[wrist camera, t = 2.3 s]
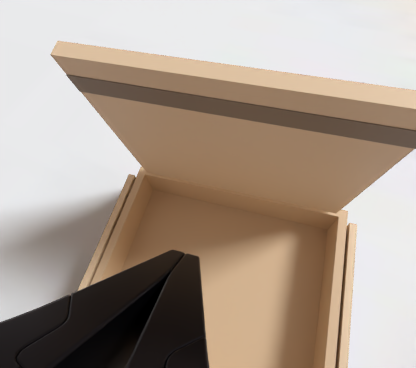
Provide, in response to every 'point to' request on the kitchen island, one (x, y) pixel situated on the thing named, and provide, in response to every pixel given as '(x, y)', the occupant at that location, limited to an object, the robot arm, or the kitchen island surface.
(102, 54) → the flap
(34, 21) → the kitchen island surface
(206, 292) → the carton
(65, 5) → the kitchen island surface
